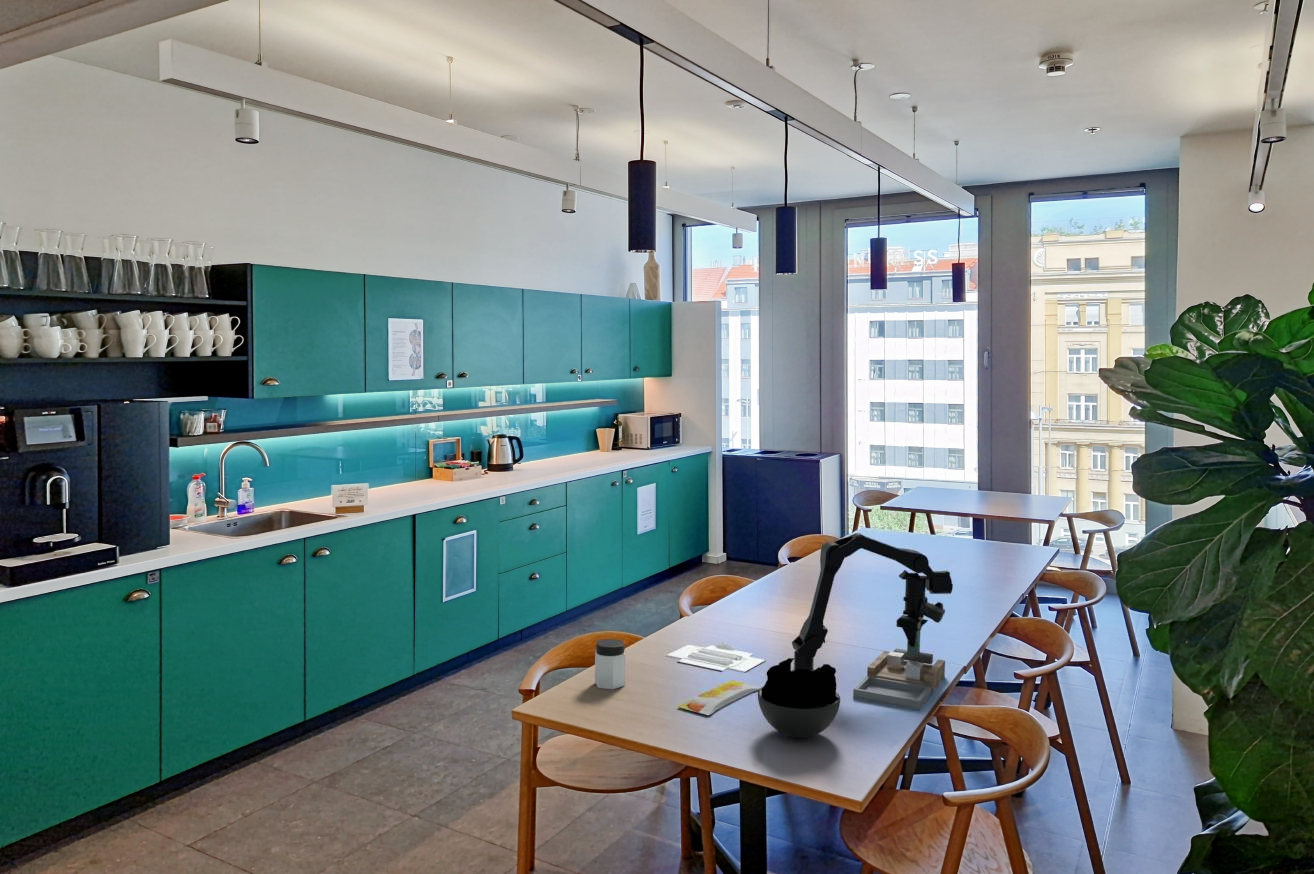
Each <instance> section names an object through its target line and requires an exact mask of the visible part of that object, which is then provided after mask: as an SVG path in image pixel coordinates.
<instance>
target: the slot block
mask: <svg viewBox="0 0 1314 874" xmlns="http://www.w3.org/2000/svg"><path fill="white" fill-rule="evenodd" d="M890 652H891V651H887V650H884V651H883V652H882V653H880V654H879V655H878V657H876V658H875V659H874V660H873V661H872V662H871V663H870V664H869V665H868V666H867V671H866V672H867V675H866V676H871V677H877V678H883V679H888V680H894V681H900V682H906V683H911V684H917V685H923V686H929V687H931V696H932V694H933V693H934V692H935V691H936V690H937V688H939V686H940V684H941V682H943V680H944V679H945V676H946V674H945V672H946V660H944V659H937V660H936V661H935V663H934V664H925V663H923V678H922V679H921V680H920V681H916V680H911V679H905V676H906V664H907V663H908V662H909V661H907V660H904V667H903V668H902V670H895V669H889V668H887V655H888V654H889V653H890Z"/></svg>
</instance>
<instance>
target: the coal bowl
mask: <svg viewBox="0 0 1314 874" xmlns="http://www.w3.org/2000/svg"><path fill="white" fill-rule="evenodd" d="M792 662H794V657H793V658H792V657H789V658H787V659H785V660H782V661H781V662H780V661H779V663H778V664H776V665H773V666H771V667H769V669H768V670H767V671H766V678H767V679H766V681H765V684H764V685H763V686H762V687H761V688H760V689H759V690H757V691H758V692H757V701H758V706H759V708H760V711H761V713H762V715H763V717H764V719H765V720H766V721H767V723H769V725H770V726H771V727H772V728H773V729H775V730H776V731H778V732H779V733H781V734H782V735H785V736H788V737H790V738H791V737H792V738H795V739H796V738H797V739H802V738H803V739H805V738H809V737H813V736H816V735H819V734H820V733H822V732H823V731H825V730H826V729H827V728H829V726H831V724H832V723H833V722H834V720H835V719H836V716H837V714H838V712H839V709H840V706H841V696H840V695H839V693H838V692H837V678H836V672H837V669H836V668H835V667H833V666H832V665H831V664H829V663H824V664H822V666H819V667H817V668H816V669H814V671H810V670H806V669H797V670H795V671H792Z"/></svg>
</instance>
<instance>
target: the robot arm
mask: <svg viewBox="0 0 1314 874" xmlns="http://www.w3.org/2000/svg"><path fill="white" fill-rule="evenodd" d="M861 549H862V550H865V551H868V552H870V553H873V554H875V555H879V556H881V557H885V558H886V559H889V560H893V561H895V562H897V563H899V564H900V565H902V566H904V567H905V568H907V569H909V570H910V571H912V572H908V571H907V570H906V569H904V570H903V571H902V572H901V573H900V574H898V577H899V579H901V580H905V589H904V590H905V592H904V595H905V596H903V598H902V599H903V600H902V601H903V602H904V610H903V611H902V615H901V616H899V617H898V618H897V619H896V626H895V627H897V628H901V630H902V631H903V633H904V636H905V637H906V639H907V640H906V641H908V642H909V645H910V646H911V647H914V645H915V641H916V636H917V631H918V630H919V629H920V632H921V630H922V627H923V626H924V625H925V624H926V623H927V622H928V621H929V620H928V619H930V620H931V621H933V622H935V623H936V624H937V623H938V624H939V623H940V622H942V619H943V617H944V615H945V613H946V609H945V608H944V603H942V602H941V601H937V602H936V603H930V602H929V601H928V596H926V591H928V592H929V594H931V595H951V594H952V593H953V588H954V585H953V581H952V578H951V577H952V576H951V572H950V571H948V570H940V571H939V570H938V571H937V570H936V571H935V570H933V569H932V567H931V566H930V563H929V562H930V561H929V559H928V557H927V556H926V555H925V554H923V553H921V552H920V551H918V550H915V549H908V548H901V547H896V546H893V545H890V544H888V543H884V542H882V541H879V540H876V539H874V538H872V537H868V536H865V535H864V534H862V533H861V532H860V533H859V532H855V533H853V534H851V535H848V536H846V537H843V538H839V539H837V540H834V541H826V542H825V543H823V544H822V546H821V548H820V556H819V563H820V570H819V571H820V573H819V575H818V576H819V577H818V580H817V584H816V588H815V592H814V595H813V599H812V604H811V607H810V611H809V615H808V617H807V618H806V620H805V621H804V623H803V625H802V627H801V629H800V631H799V635H797V636H796V637H795V639H793V641H791V645H792V647H793V650H794V653H793V656H794V657H793V658H794V660H793V669H791V671H795V670H797V669H806V670H810V671H814V670H815V669H814V662H815V661H814V659H815V657H816V654H817V652H818V650H819V649H821V648H822V647H823V644H826V636H827V634H828V632H829V630H828V628H827V627H826V626H825V625H824V620H825V615H826V612H827V607H828V603H829V599H830V596H831V592H832V588H833V586H834V585H833V584H834V580H835V577H836V574H837V573H838V571H839V570H840V568H841V567H842V565H843V563H844V560H845V559H846V558H848V557H851V556H852V555H853V554H855V553H856V552H857V551H858V550H861ZM920 574H923V575H920ZM924 616H925V617H927V618H928V619H926V618H924Z"/></svg>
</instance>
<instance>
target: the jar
mask: <svg viewBox="0 0 1314 874" xmlns="http://www.w3.org/2000/svg"><path fill="white" fill-rule="evenodd" d="M625 648H626V647H625V642H624V641H623V640H620V639H616V638H615V639H614V638H608V639H600V640H598V641H596V643H595V651H594V683H595V685H596V686H597V688H598V689H603V690H604V689H605V690H616V689H619V688H623V687H625V686H626V653H625V651H626V649H625Z"/></svg>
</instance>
